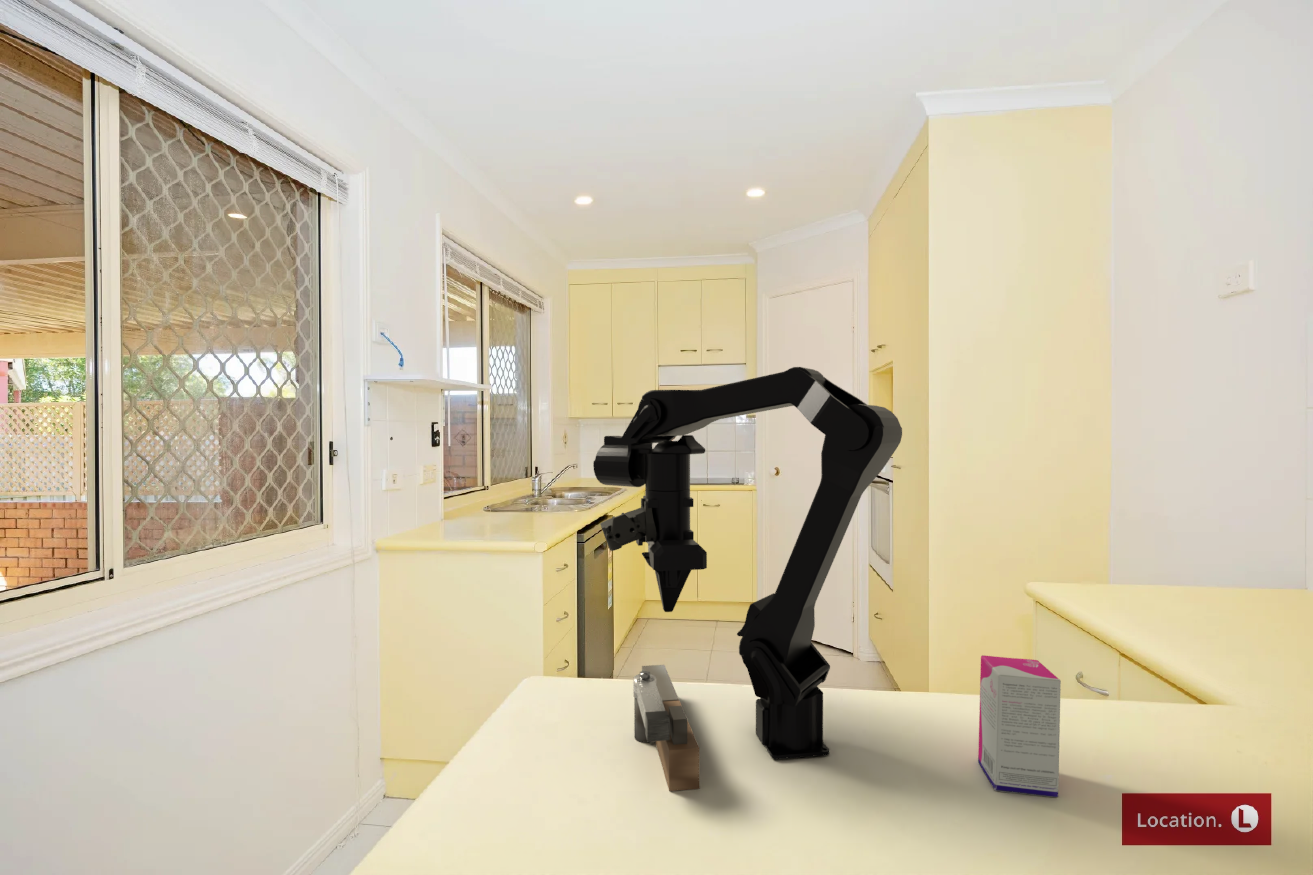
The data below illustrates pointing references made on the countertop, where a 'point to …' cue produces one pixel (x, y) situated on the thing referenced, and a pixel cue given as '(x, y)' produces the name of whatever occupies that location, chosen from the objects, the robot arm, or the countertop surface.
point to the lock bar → (651, 707)
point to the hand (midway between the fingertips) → (667, 611)
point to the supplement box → (1019, 726)
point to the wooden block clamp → (672, 736)
